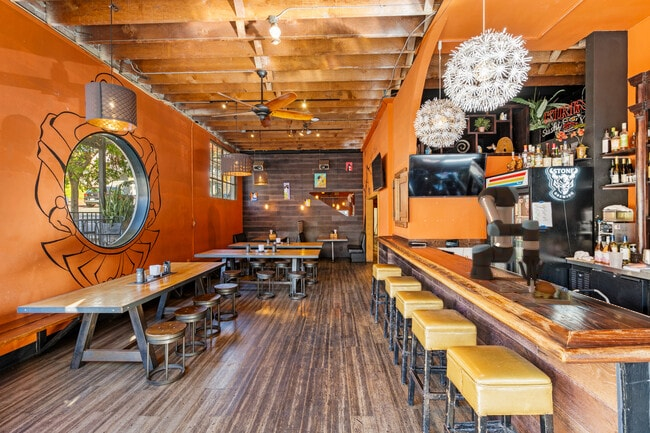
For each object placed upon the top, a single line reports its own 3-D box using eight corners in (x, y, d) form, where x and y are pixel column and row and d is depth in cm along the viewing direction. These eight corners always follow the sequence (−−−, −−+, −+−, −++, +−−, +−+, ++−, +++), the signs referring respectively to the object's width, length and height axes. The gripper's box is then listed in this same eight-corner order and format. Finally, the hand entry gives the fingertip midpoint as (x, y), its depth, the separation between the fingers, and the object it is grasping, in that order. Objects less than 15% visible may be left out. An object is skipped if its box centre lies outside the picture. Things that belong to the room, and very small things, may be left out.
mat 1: (518, 289, 181) (518, 289, 181) (531, 290, 179) (531, 290, 179) (521, 292, 175) (521, 292, 175) (535, 292, 173) (535, 292, 173)
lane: (500, 291, 177) (500, 283, 177) (553, 293, 170) (553, 285, 170) (512, 301, 157) (512, 292, 157) (572, 304, 150) (572, 294, 150)
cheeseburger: (545, 294, 169) (548, 278, 166) (559, 304, 159) (562, 287, 156) (527, 294, 169) (529, 278, 167) (539, 304, 159) (542, 287, 156)
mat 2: (519, 302, 156) (519, 302, 156) (534, 303, 154) (534, 302, 154) (523, 305, 150) (523, 305, 150) (539, 306, 148) (539, 306, 148)
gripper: (519, 249, 162) (520, 293, 162) (547, 249, 158) (548, 294, 158) (515, 247, 169) (515, 289, 169) (541, 248, 166) (542, 291, 166)
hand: (531, 292), depth 164 cm, fingers closed
